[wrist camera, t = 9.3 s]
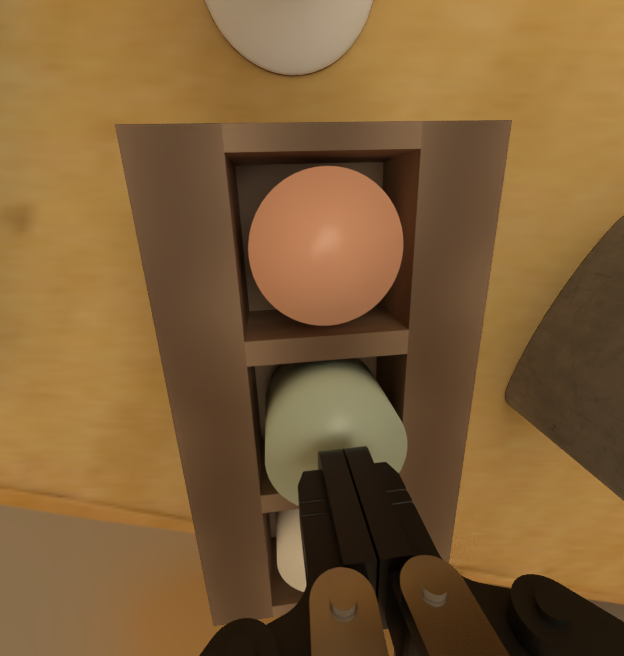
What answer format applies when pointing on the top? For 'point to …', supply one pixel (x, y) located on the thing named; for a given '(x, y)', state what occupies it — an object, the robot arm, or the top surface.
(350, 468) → the robot arm
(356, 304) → the orange brown egg
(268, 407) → the pale green egg
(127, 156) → the three egg wooden crate
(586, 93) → the top surface
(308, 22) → the white bowl
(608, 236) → the hip flask
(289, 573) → the pale beige egg
